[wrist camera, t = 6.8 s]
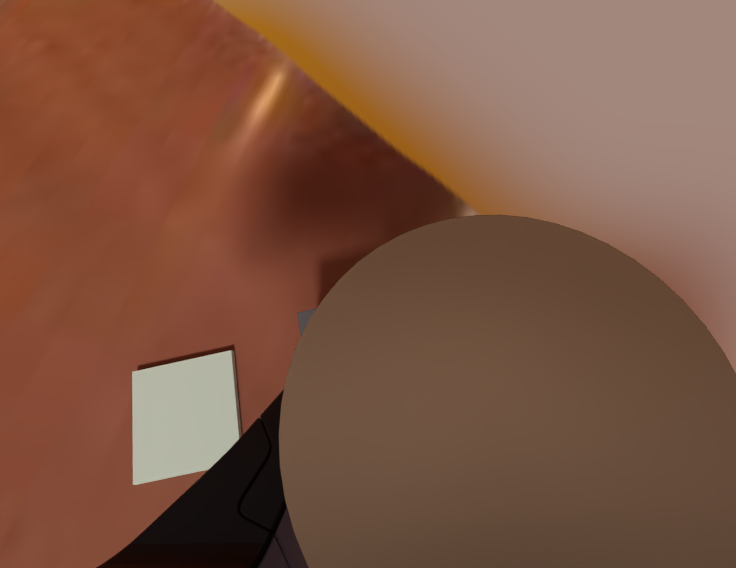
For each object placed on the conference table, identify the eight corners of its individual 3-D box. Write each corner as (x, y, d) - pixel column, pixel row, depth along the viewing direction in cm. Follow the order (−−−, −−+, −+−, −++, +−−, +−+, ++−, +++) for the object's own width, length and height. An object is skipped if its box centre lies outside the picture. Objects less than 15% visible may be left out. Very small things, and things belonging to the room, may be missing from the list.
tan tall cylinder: (444, 441, 13) (749, 869, 2) (362, 409, 14) (202, 578, 2) (468, 356, 14) (783, 284, 3) (389, 329, 15) (366, 172, 3)
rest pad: (244, 460, 21) (241, 462, 20) (137, 483, 21) (133, 485, 20) (234, 350, 23) (231, 350, 22) (136, 371, 23) (132, 371, 22)
